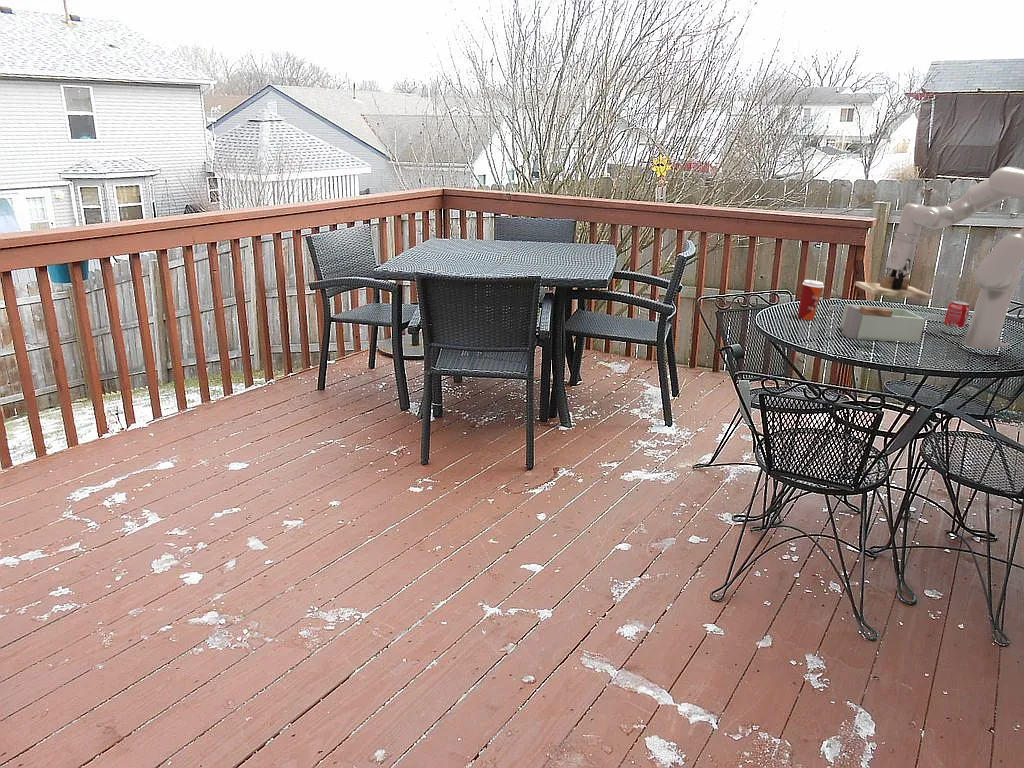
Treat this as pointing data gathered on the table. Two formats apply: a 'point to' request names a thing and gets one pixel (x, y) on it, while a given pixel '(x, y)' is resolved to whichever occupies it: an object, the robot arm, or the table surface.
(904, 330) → the toolbox
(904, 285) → the lid
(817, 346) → the table surface
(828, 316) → the table surface
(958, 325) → the soda can
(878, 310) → the wooden block
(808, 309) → the paper cup
